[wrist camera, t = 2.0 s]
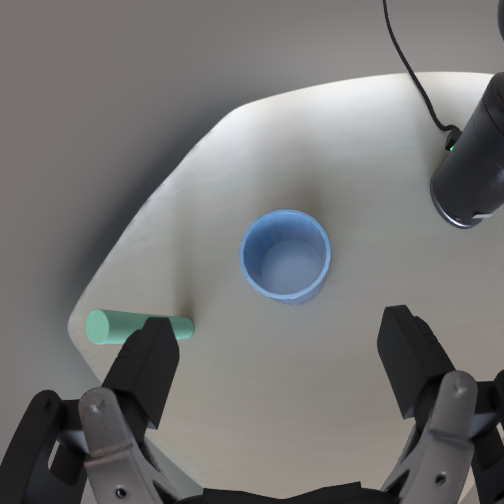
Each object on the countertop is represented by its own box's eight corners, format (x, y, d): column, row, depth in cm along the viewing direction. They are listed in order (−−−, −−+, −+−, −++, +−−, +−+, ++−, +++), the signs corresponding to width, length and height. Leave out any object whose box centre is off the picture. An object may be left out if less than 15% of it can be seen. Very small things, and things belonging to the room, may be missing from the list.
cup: (280, 226, 34) (268, 195, 25) (338, 257, 32) (346, 233, 23) (246, 283, 33) (222, 269, 25) (304, 317, 31) (301, 316, 22)
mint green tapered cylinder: (181, 312, 34) (93, 301, 19) (198, 324, 33) (114, 322, 18) (171, 330, 34) (81, 329, 19) (187, 342, 33) (100, 351, 18)
